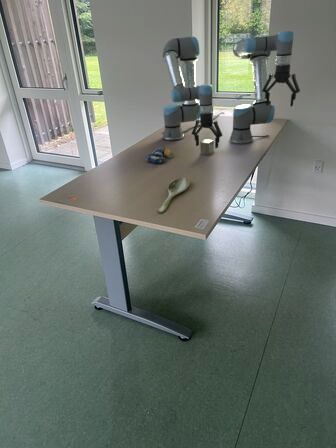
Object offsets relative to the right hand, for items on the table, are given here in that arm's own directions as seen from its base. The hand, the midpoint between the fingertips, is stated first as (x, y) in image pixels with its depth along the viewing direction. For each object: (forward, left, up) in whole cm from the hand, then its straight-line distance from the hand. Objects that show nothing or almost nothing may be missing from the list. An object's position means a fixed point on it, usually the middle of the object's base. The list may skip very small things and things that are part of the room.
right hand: (279, 105), depth 190 cm
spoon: (+79, -2, -29) cm, 84 cm away
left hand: (+26, -33, -24) cm, 48 cm away
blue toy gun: (+51, -49, -29) cm, 76 cm away
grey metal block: (+26, -33, -29) cm, 51 cm away
